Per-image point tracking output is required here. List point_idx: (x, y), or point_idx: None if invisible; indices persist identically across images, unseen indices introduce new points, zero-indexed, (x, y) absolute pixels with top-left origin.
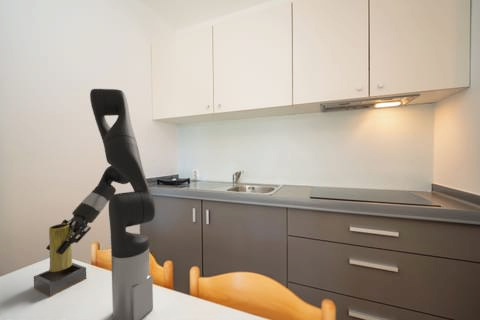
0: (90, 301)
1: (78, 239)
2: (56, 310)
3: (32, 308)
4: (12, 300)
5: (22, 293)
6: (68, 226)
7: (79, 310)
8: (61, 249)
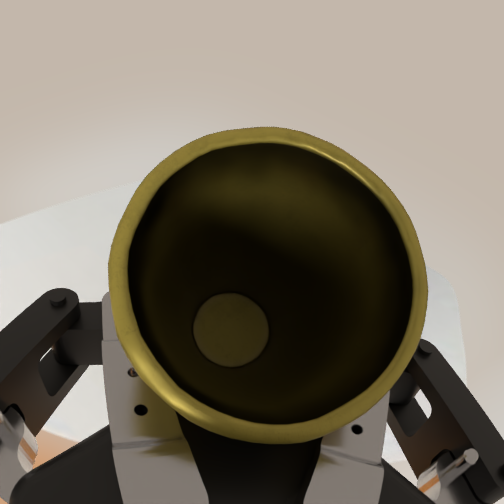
0: (18, 273)
1: (50, 357)
2: (80, 215)
3: None
4: None
5: None
6: (125, 348)
7: (20, 234)
8: None
